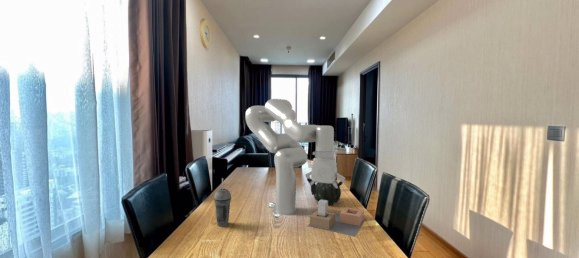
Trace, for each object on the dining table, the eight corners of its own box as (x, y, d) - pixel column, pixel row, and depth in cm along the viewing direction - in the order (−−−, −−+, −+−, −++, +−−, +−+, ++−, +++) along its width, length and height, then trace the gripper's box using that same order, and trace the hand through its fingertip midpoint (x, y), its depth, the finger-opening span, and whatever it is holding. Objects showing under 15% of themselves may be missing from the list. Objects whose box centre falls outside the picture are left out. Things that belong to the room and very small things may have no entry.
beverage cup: (213, 228, 112) (213, 181, 111) (213, 221, 119) (213, 177, 118) (231, 227, 114) (231, 180, 113) (230, 220, 121) (230, 176, 120)
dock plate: (307, 229, 112) (307, 216, 112) (323, 214, 130) (323, 202, 130) (355, 240, 103) (355, 226, 103) (365, 222, 121) (365, 210, 121)
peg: (317, 224, 114) (318, 201, 113) (320, 222, 117) (320, 199, 116) (324, 226, 112) (325, 202, 112) (327, 223, 115) (328, 200, 115)
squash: (349, 192, 148) (333, 170, 152) (338, 201, 135) (321, 176, 140) (331, 205, 154) (316, 183, 159) (319, 214, 142) (303, 190, 146)
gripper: (302, 155, 113) (302, 195, 114) (342, 157, 106) (342, 200, 106) (309, 152, 120) (308, 191, 121) (347, 155, 112) (347, 195, 113)
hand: (324, 195), depth 113 cm, fingers open, 9 cm apart
